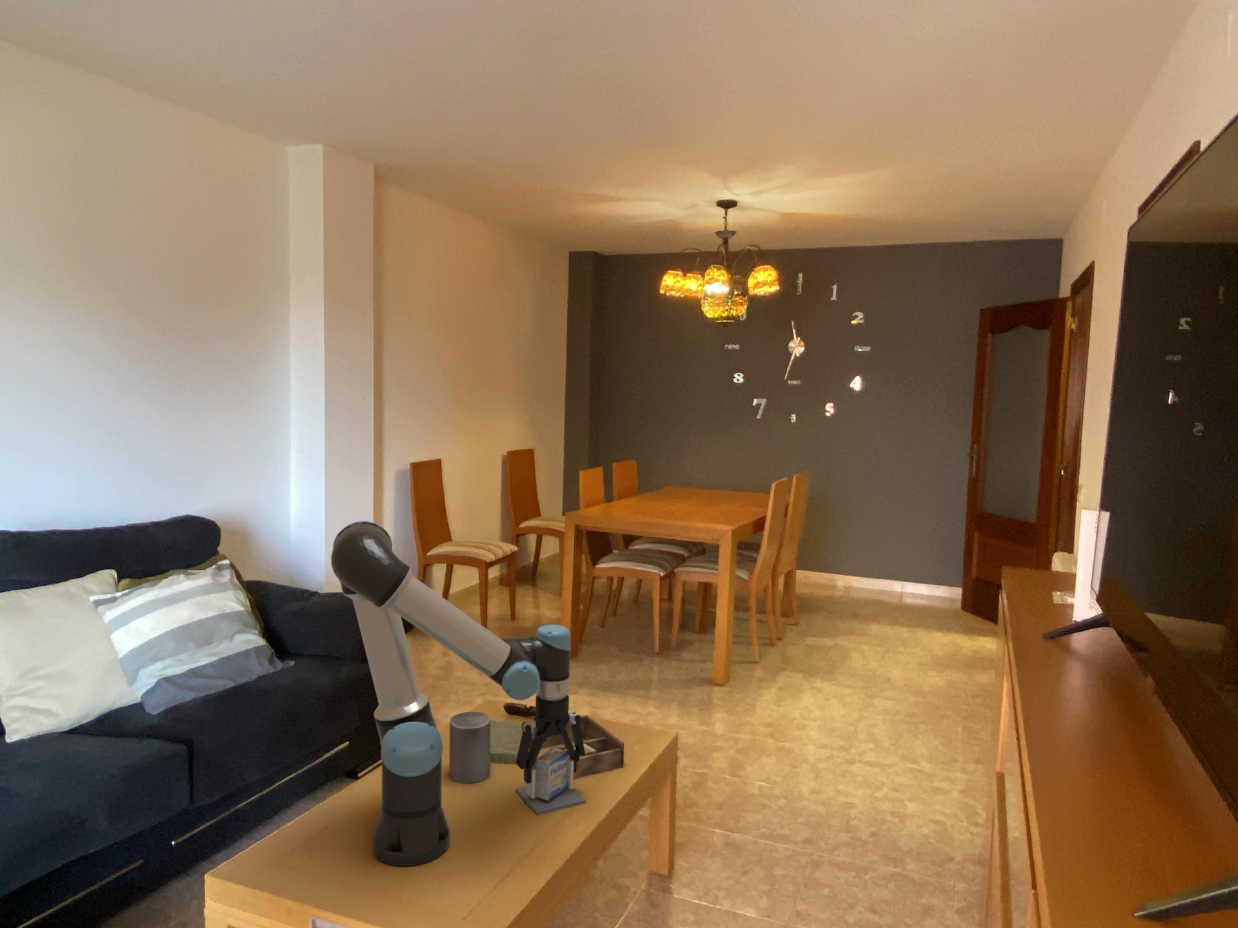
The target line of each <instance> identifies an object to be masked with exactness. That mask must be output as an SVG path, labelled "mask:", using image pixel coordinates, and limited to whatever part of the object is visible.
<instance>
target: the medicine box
mask: <svg viewBox="0 0 1238 928" xmlns="http://www.w3.org/2000/svg"><path fill="white" fill-rule="evenodd" d="M552 748H553V749H551V750H550V749H549V750H548V751H546V752H545V753H543V754H541V755H539V756H538V757H537V759H536V761H535V763H534V766H533V768H534V769H535V770H536V774H535V797H538V798H541V799H544V800H547V801H549V800H550V799H552V798H553V797H555V796H556V795H557V794H559V793H560V792H561V791H563V790H564V789H566V788H567V787H568V752H567V751H564V750H561V749H557V748H554V747H552Z"/></svg>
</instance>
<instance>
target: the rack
mask: <svg viewBox="0 0 1238 928" xmlns="http://www.w3.org/2000/svg"><path fill="white" fill-rule="evenodd" d="M580 716H581V715H580ZM580 728H581V734H582V739H583V744H586V745H587V746H589V747H591V748H593V749H594V750H596V754H591V755H587V756H582V757H579V758H580V759H579V761H577V771H576V773H573V780H574V779H576V778H577V779H578V778H583V777H586V776H590V775H594V774H598V773H604V772H607V771H610V770H615V769H619V768H624V761H625V760H624V759H625V757H624V755H625V743H624V742H623V741H622V740H620V739H619V738H618V737H617V736H615V735H614V734H613V733H611V732H610V731H608V730H607V729H606V728H605V727H603V726H602V725H601V724H599V723H598V722H596V721H595V720H594V719H592V718H591V717H590V716H589V715H587V714H586V715H582V716H581V722H580ZM565 729H566V731H567V733H568V737H569V739H570V741H571V743H572V745H573V747H574V746H575V744H574V739H573V734H572V728H571V723H570V722H568V723H567V725H566V726H565ZM533 731H534V732H533V733H532V743H533V740H534V738H535V733H536V731H537V728H536V727H534V730H533ZM541 735H542V734H541ZM559 745H560V746H559ZM549 747H551V748H549ZM545 748H549V750H551V749H553V748H557V749H561V750H564V751H565V749H566V748H565V746H564V744H563V742H562V740H561V738H560V736H559V735H557V736H555V735H553V736H551V737H547V739H546V741H545V742H544V743H543V745H542V748H541V749H545Z"/></svg>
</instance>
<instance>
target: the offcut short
mask: <svg viewBox="0 0 1238 928" xmlns="http://www.w3.org/2000/svg"><path fill="white" fill-rule="evenodd" d="M583 745H584V750H585V755H584V756H587V755H591V754H596V750H594V749H593V748H591V747H589V746H587V745H586V744H583ZM574 749H575V746H574ZM565 751H567V750H566V749H565ZM568 757H569V758H570V756H569V755H568ZM580 757H582V756H580Z"/></svg>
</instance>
